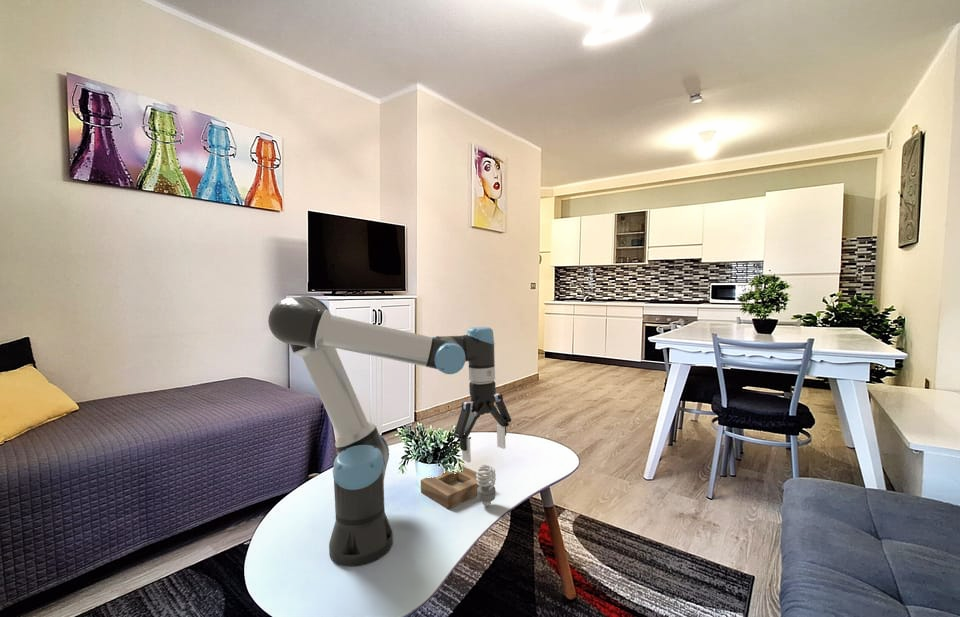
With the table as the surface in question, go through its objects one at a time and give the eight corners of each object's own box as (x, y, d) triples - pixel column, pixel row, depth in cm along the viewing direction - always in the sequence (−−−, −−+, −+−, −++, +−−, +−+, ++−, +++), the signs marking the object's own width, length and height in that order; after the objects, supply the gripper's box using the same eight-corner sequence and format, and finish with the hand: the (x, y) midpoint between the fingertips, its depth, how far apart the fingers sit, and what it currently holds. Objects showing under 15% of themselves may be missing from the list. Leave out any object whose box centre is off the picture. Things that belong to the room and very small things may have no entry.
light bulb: (472, 506, 121) (471, 466, 120) (485, 499, 125) (484, 459, 124) (487, 513, 117) (486, 471, 116) (500, 505, 121) (499, 464, 120)
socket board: (448, 509, 119) (447, 495, 119) (420, 492, 130) (420, 479, 130) (489, 490, 130) (488, 478, 130) (460, 476, 140) (460, 464, 140)
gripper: (456, 391, 108) (459, 471, 109) (521, 375, 125) (523, 445, 126) (439, 387, 114) (442, 463, 115) (503, 372, 130) (505, 439, 131)
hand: (484, 454), depth 120 cm, fingers open, 13 cm apart
